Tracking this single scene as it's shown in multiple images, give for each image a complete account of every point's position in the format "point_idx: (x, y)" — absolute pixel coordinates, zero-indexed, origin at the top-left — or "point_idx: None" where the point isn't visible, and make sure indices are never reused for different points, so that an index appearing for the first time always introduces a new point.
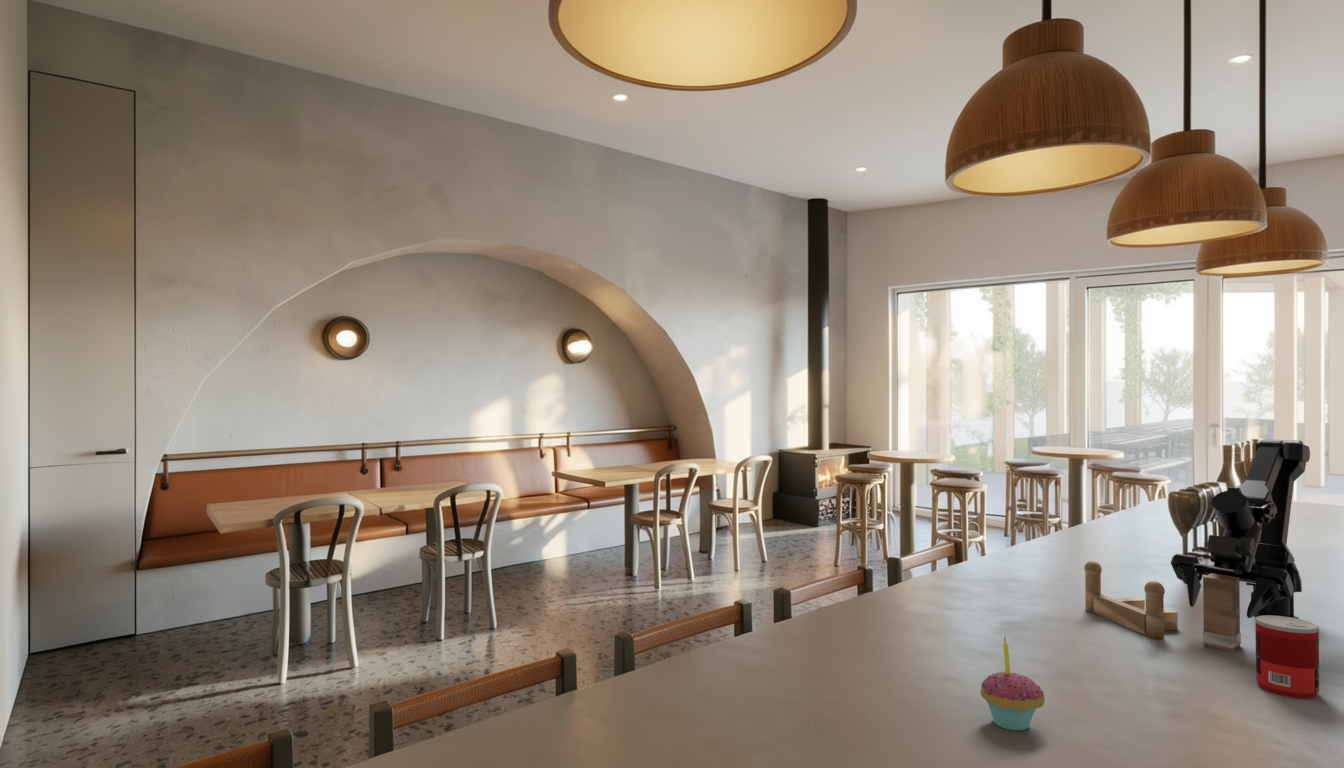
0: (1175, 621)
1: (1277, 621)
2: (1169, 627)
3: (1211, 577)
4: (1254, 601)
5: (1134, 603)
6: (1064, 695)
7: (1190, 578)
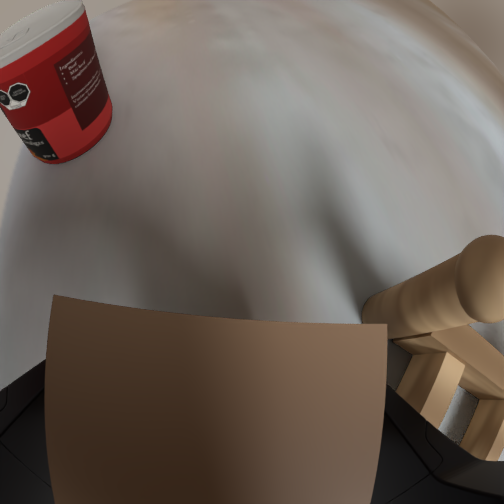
0: None
1: (37, 31)
2: None
3: (300, 359)
4: (26, 379)
5: (480, 457)
6: (302, 4)
7: (453, 466)
